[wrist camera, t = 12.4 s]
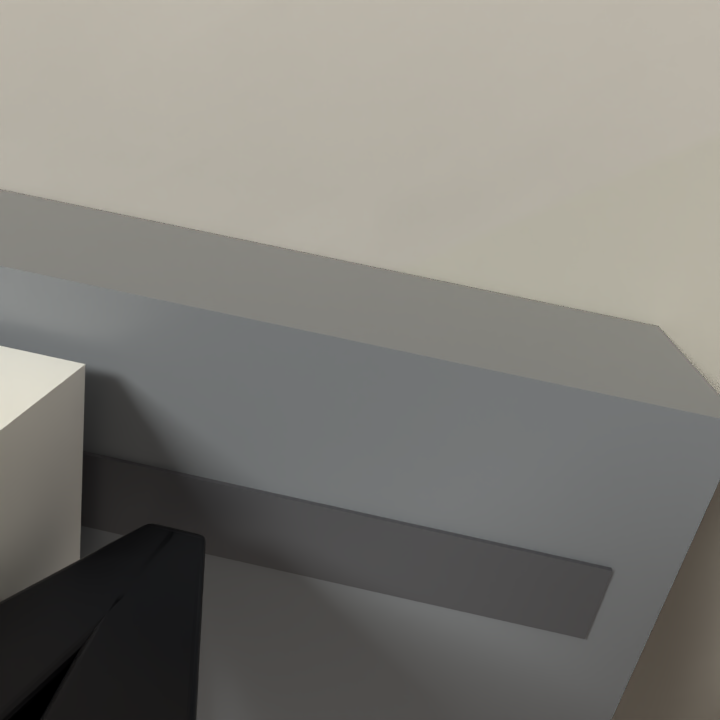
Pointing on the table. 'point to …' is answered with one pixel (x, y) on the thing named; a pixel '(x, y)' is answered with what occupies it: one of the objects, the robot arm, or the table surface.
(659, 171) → the table surface
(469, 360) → the console
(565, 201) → the table surface
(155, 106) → the table surface
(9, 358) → the switch
